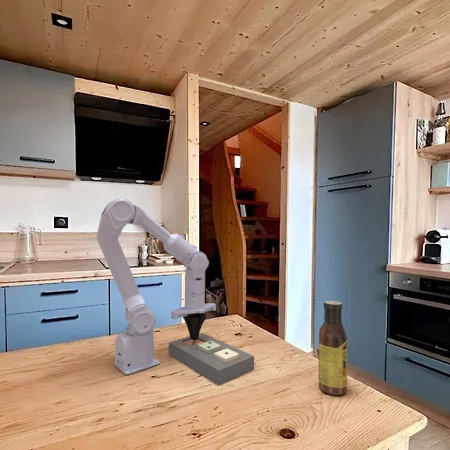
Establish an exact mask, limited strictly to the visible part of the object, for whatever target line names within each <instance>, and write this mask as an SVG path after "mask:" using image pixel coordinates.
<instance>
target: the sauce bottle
mask: <svg viewBox="0 0 450 450" xmlns="http://www.w3.org/2000/svg"><path fill="white" fill-rule="evenodd" d="M323 310H324V318H323V320H324V322H323V323H322V325H321V327H320V328H319V331H318V338H319V339H318V379H317V380H318V387H319V389H320V390H321V391H323V392H324V393H326V394H328V395H332V396H340V395H344V394H345V393H346V392H347V386H348V337H347V333H346V330H345V328H344V325H343V321H342V310H343V303H342V302H341V301H337V300H325V301H323Z"/></svg>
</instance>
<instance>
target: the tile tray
mask: <svg viewBox="0 0 450 450" xmlns="http://www.w3.org/2000/svg"><path fill="white" fill-rule="evenodd" d="M198 339H199V340H201V341H203V342H204V343H205V342H208V341H213V342H215V343H217V344H219V345H221V350H224V349H227V348H228V349H230V350H232V351H234V352H236V353H238V354H239V359H237V360H235V361H232V362H230V363H227V364H225V363H223V362H221V361H219V360H217V359H215V358H214V353H215V352H214V353H211V354H206V353H204V352H202V351H200V350H198V345H195V346H191V345H189V344H187V343H185V342H184V341H188V340H191V339H190V335H189V336H186V337H183V338H182V337H181V338H180V339H179V338H178V339H176V340H172V341H169V342H168V355H169V356H171V357H172V358H174V359H175V360H177V361H178V362H180V363H182V364H183V365H185V366H186V367H188V368H190V369H191V370H194V371H195V372H196V373H198V374H199V375H201V376H203V377H204V378H205V379H207V380H209V381H211V382H212V383H214V384H216V385H217V386H221V385H224V384H225V383H228V382H229V381H232V380H234V379H236V378H239V377H240V376H243V375H245V374H247V373H249V372H252V371H254V370H255V355H253V354H250V353H249V352H246V351H244V350H242V349H240V348H237V347H235V346H233V345H230V344H228V343H226V342H224V341H222V340H220V339H217V338H215V337H213V336H211V335H208V334H206V333H204V332H200V333H199V337H198ZM221 350H219V351H221ZM217 352H218V351H217Z"/></svg>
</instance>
